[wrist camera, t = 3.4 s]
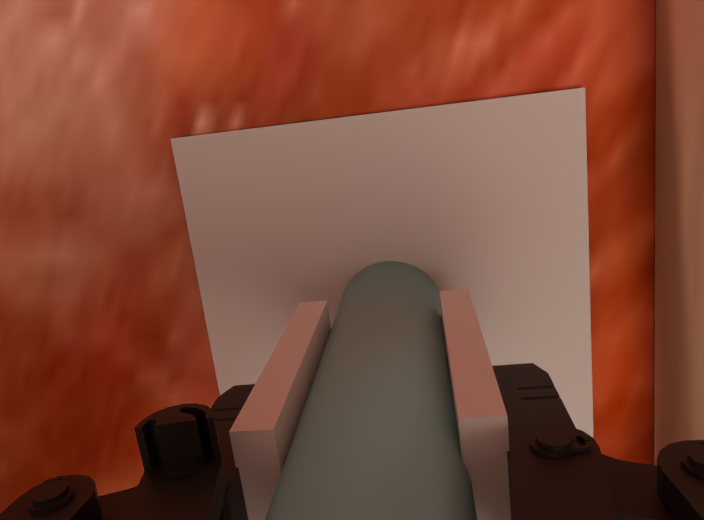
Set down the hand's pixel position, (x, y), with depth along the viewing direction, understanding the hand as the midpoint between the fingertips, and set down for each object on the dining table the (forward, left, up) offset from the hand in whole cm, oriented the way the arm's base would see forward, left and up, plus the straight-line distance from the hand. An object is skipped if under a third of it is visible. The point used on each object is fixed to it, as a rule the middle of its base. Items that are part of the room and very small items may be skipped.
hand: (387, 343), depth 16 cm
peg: (0, 0, -3) cm, 3 cm away
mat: (0, 0, -3) cm, 3 cm away
